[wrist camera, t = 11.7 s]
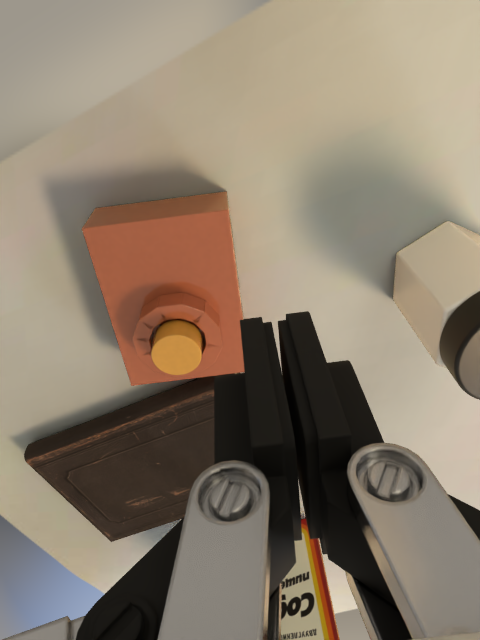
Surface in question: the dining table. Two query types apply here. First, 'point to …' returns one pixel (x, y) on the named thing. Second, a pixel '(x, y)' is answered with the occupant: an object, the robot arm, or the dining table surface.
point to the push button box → (169, 279)
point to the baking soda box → (307, 595)
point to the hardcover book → (133, 459)
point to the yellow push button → (177, 347)
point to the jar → (444, 299)
